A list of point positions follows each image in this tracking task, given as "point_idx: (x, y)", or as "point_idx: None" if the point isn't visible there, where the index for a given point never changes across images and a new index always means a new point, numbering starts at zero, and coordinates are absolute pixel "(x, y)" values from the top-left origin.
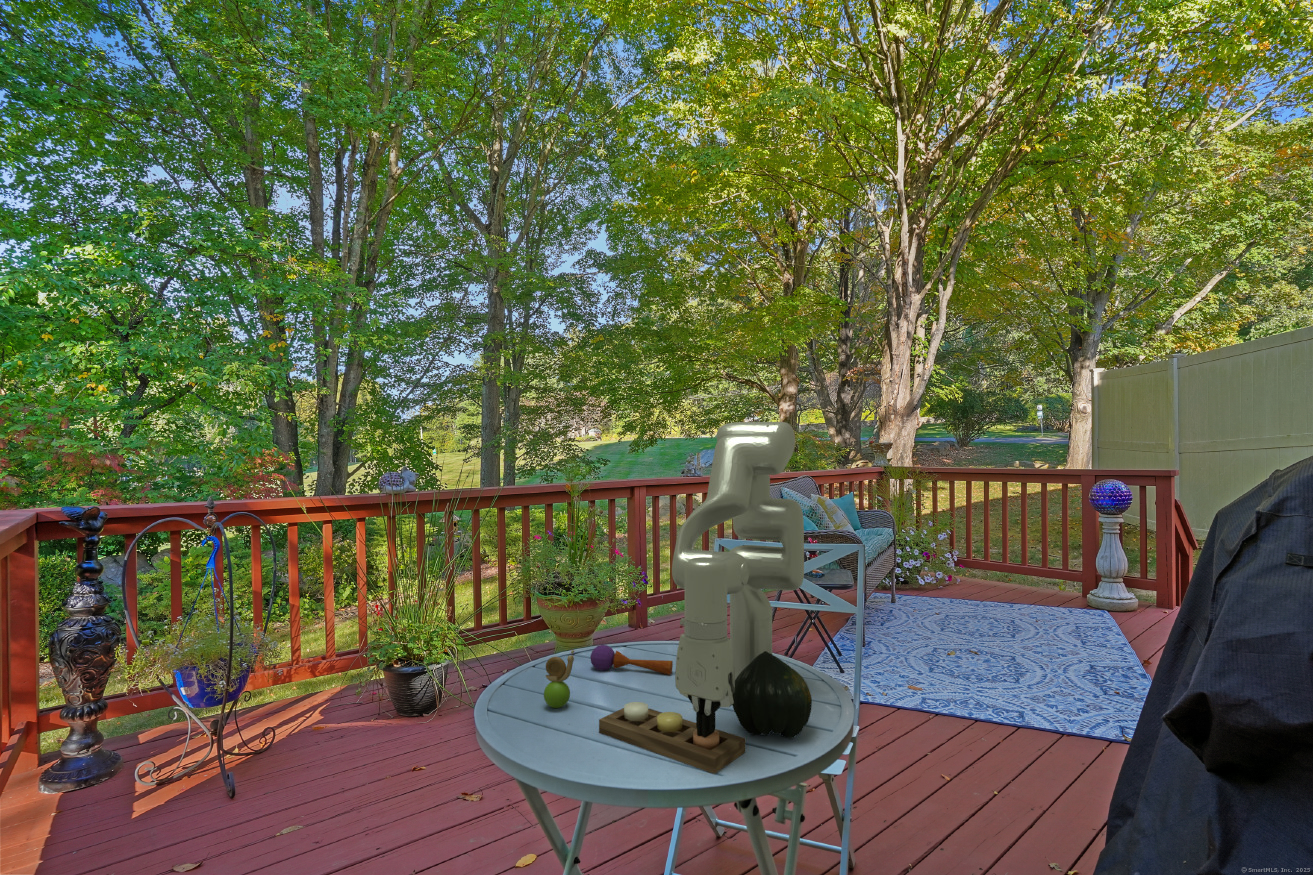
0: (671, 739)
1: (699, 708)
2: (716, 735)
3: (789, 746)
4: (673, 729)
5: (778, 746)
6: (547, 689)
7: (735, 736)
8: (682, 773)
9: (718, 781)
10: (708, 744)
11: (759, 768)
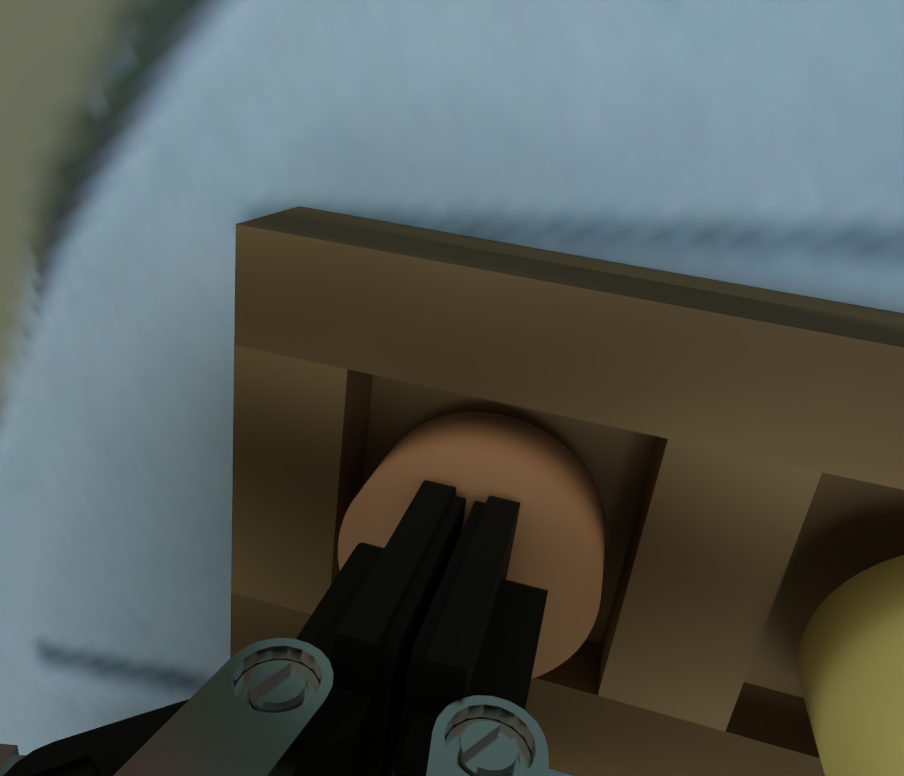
0: (821, 426)
1: (433, 747)
2: None
3: None
4: (867, 588)
5: None
6: None
7: None
8: (536, 70)
9: (220, 107)
10: (403, 447)
11: (106, 429)
